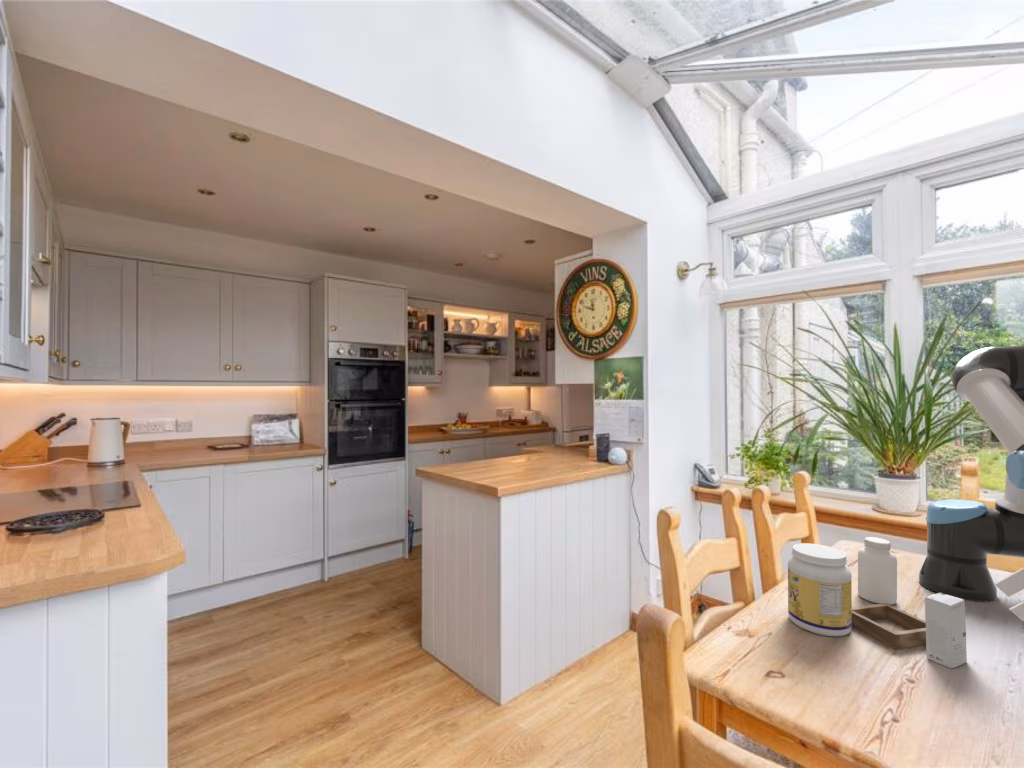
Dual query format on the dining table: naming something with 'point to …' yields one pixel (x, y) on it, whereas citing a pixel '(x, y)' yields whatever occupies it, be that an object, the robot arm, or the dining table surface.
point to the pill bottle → (877, 571)
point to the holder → (893, 639)
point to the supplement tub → (820, 589)
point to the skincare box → (945, 630)
